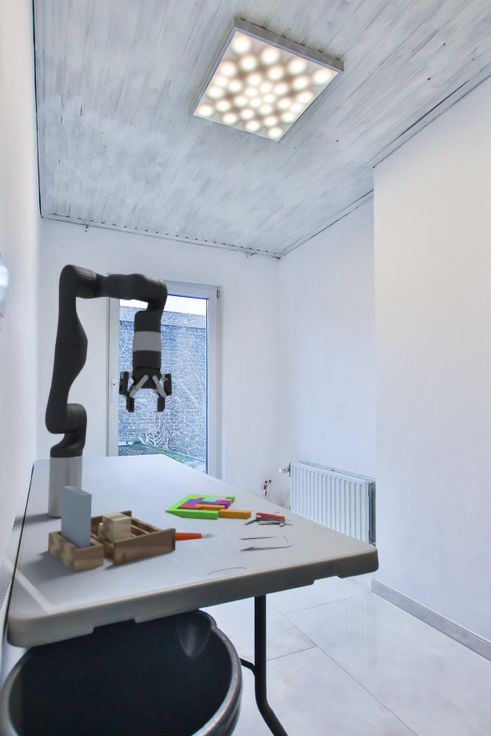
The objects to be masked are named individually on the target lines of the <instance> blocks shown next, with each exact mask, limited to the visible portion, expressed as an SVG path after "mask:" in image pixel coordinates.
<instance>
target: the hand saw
mask: <svg viewBox="0 0 491 736" xmlns="http://www.w3.org/2000/svg"><path fill="white" fill-rule="evenodd" d="M213 537H221V535H220V534H219V535H217V534H215V535H214V534H213V533H212V532H206V533H200V532H199V533H198V532H177V531H176V542H177V541H178V542H179V541H190V540H200V539H213ZM280 537H281V535H266V536H264V535H263V536H235V538H237V539H253V538H257V539H258V538H260V539H261V538H280ZM283 537H284V538H285V540H286V542H287V544H281V545H280V544H277V545H273V544H271V545H254V546H251V547H247V548H244V549H240V550H239V551H240V552H246V551H247V552H248V551H261V550H263V551H264V550H273V549H284V548H285V549H286V548H290V547H292V546H294V543H293V541H292V538H291V536H290V534H283Z"/></svg>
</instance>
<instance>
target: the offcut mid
mask: <svg viewBox="0 0 491 736" xmlns="http://www.w3.org/2000/svg"><path fill="white" fill-rule="evenodd" d="M102 524H103V523H99V534H101V535H103V536H104V537H106V538H108V539H110V540H112V541H113V542H114V541H117V540H121V539H126V538H130V537H131V528H127V529H122V530H118V531H112V530H110V529H109V528H107V527H105V526H103V525H102Z"/></svg>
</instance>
